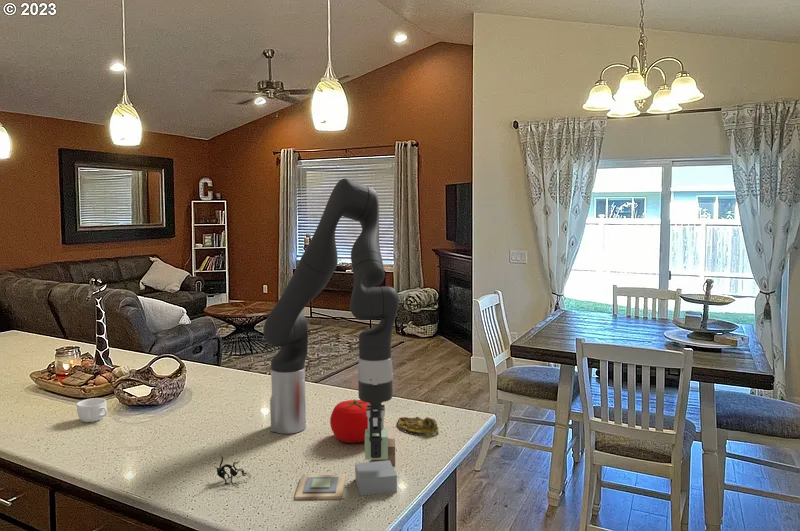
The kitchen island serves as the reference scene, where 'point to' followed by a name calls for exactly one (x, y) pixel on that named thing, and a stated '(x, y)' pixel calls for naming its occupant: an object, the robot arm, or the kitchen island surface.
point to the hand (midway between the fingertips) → (376, 451)
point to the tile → (321, 487)
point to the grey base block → (375, 477)
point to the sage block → (383, 445)
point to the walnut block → (390, 452)
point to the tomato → (350, 421)
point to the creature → (221, 470)
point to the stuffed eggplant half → (418, 426)
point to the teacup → (92, 409)
